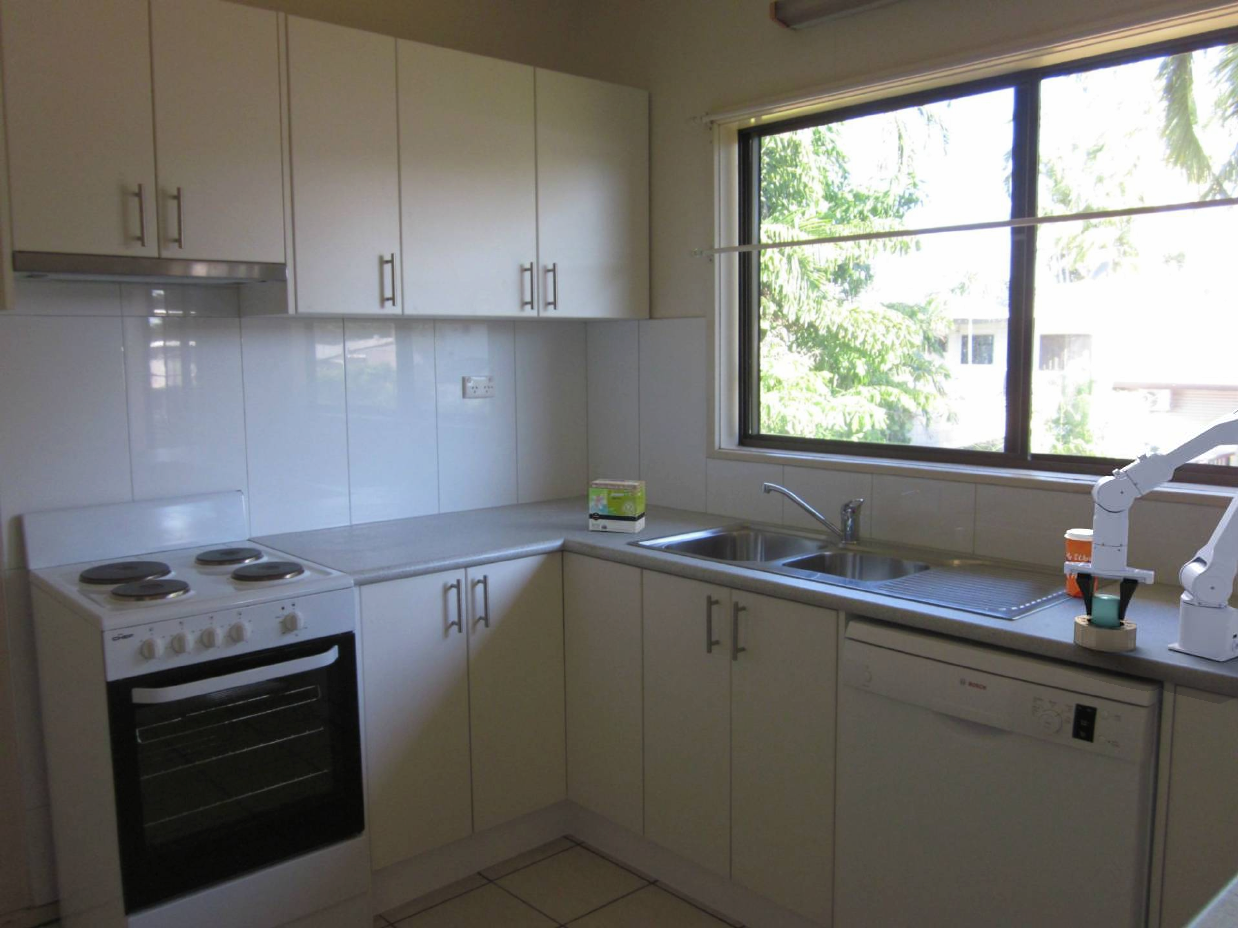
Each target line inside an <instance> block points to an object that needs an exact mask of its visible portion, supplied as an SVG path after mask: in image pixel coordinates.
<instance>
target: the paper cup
mask: <svg viewBox="0 0 1238 928" xmlns="http://www.w3.org/2000/svg"><path fill="white" fill-rule="evenodd" d="M1065 533H1066V534H1064V538H1065V560H1066V561H1065V563H1066V562H1079V563H1091V556H1092V536H1093V529H1087V528H1071V529H1069V530H1066V532H1065ZM1065 576H1066V594H1067V593H1068V594H1070V595H1069V596H1072V597H1075V598H1076V597H1077V598H1083V596H1082V593H1081V591H1080V589H1079V587H1078V585H1077V583H1076V578H1077V574H1072V573H1071V574H1066V575H1065ZM1097 585H1098V577H1095V585H1094V594H1093V595H1096V591H1097V590H1096V589H1097ZM1068 594H1067V595H1068Z"/></svg>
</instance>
